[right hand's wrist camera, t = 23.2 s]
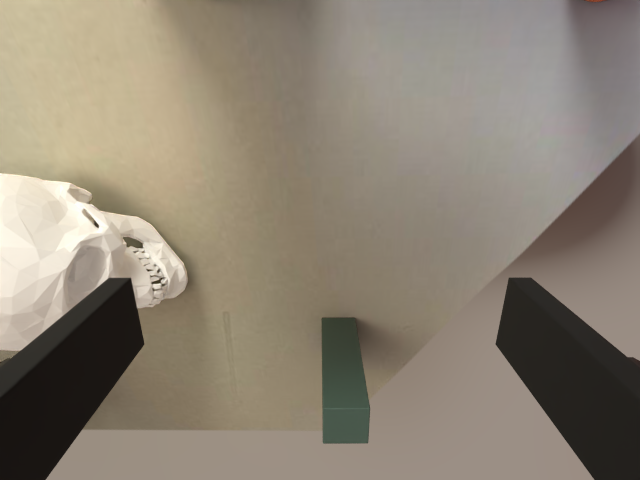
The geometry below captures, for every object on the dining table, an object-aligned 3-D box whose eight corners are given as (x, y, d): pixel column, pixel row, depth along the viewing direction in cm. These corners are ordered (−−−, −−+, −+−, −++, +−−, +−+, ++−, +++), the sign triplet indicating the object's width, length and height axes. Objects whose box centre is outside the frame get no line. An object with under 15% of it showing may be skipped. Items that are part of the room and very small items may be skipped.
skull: (179, 320, 44) (109, 426, 29) (-12, 257, 41) (-201, 339, 26) (211, 221, 40) (149, 283, 25) (2, 144, 37) (-210, 162, 22)
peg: (321, 345, 45) (322, 443, 32) (321, 317, 44) (322, 408, 31) (354, 345, 45) (368, 443, 32) (355, 317, 44) (370, 408, 31)
